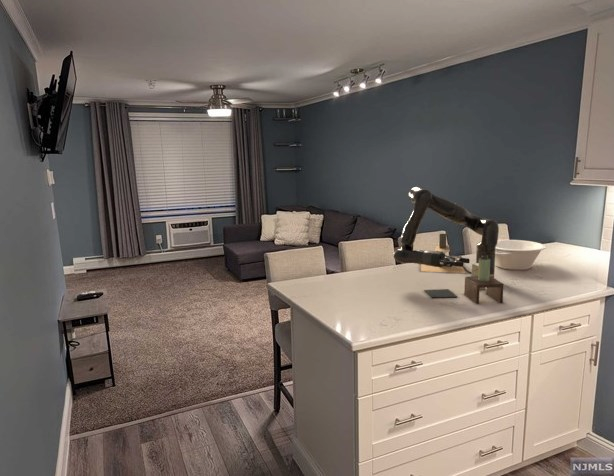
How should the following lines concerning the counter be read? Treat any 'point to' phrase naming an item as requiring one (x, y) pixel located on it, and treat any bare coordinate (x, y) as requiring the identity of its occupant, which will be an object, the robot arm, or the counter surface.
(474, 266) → the cosmetic box
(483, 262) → the bottle
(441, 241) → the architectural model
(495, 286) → the shelf
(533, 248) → the white wash basin
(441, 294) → the mat
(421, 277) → the counter surface
